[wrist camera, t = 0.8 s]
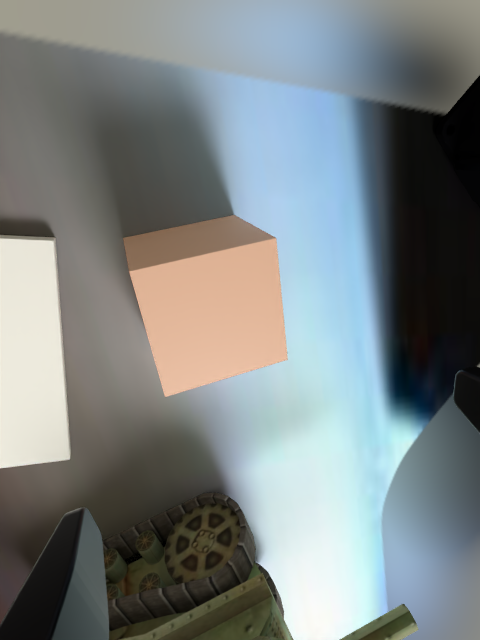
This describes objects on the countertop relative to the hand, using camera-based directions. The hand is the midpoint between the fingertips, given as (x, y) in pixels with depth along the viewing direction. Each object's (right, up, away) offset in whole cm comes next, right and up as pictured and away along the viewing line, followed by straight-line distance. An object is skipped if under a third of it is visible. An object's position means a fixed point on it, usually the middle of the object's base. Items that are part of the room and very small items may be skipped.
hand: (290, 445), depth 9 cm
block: (-3, +5, +9) cm, 11 cm away
